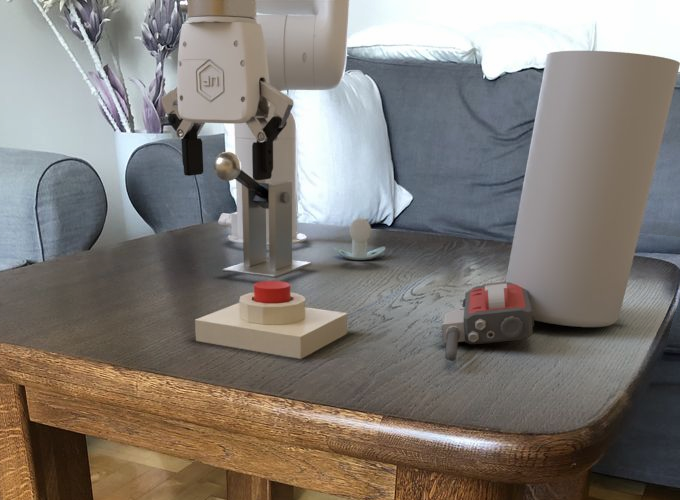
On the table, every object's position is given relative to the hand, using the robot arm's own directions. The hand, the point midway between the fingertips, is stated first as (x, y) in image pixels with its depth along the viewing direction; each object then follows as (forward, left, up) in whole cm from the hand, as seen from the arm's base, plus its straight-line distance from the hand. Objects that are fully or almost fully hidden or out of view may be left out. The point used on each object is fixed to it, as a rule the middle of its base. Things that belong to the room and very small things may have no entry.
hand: (227, 176), depth 97 cm
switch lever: (0, +4, -2) cm, 5 cm away
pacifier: (+8, +21, -13) cm, 26 cm away
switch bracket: (0, +9, -13) cm, 16 cm away
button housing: (+16, -17, -13) cm, 27 cm away
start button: (+16, -17, -9) cm, 25 cm away
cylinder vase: (+40, +5, -13) cm, 42 cm away
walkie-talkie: (+36, -8, -13) cm, 39 cm away
